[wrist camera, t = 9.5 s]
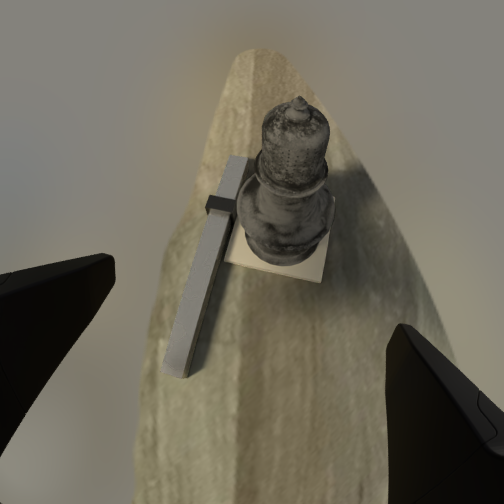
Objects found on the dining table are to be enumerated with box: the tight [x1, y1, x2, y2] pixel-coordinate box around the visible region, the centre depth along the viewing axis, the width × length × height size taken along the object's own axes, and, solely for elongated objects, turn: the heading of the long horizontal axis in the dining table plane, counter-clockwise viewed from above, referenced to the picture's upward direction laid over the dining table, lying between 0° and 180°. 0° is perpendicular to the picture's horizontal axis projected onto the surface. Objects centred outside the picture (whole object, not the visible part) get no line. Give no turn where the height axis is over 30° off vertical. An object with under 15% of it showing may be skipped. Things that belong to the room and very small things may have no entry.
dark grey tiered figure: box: [237, 96, 335, 266], centre depth 16 cm, size 6×6×12 cm
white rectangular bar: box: [160, 155, 249, 379], centre depth 21 cm, size 16×2×2 cm, turn 166°
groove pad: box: [224, 197, 335, 283], centre depth 22 cm, size 7×7×1 cm
